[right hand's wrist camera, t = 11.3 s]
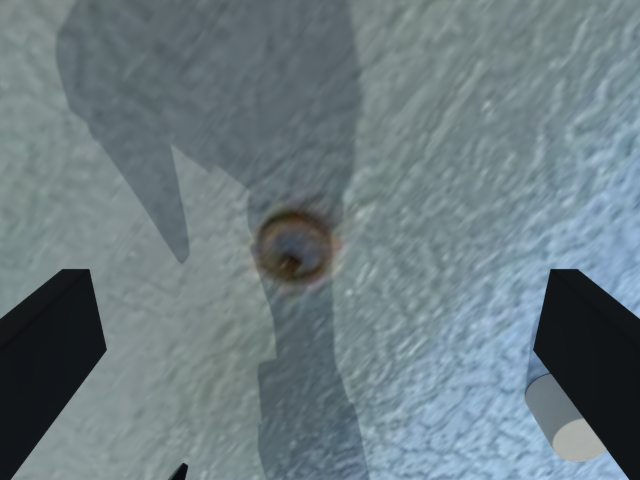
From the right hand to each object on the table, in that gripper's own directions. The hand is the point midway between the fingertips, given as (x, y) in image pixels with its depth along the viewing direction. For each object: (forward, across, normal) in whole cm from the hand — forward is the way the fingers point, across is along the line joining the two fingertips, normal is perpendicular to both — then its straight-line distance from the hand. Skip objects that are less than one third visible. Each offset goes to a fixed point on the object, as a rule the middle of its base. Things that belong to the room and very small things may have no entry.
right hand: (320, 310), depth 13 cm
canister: (+18, +19, -18) cm, 32 cm away
